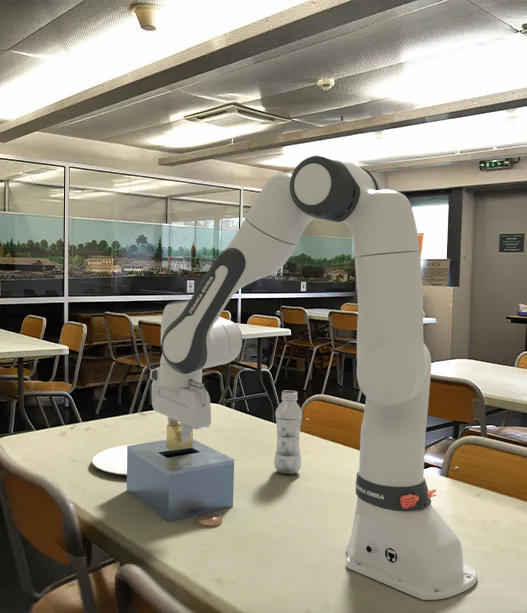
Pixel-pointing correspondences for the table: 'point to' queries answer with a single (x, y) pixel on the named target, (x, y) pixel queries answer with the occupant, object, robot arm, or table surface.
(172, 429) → the brushed brass bar
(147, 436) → the table surface
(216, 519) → the copper token
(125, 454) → the plate
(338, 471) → the table surface
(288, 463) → the plastic bottle
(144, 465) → the coin box
